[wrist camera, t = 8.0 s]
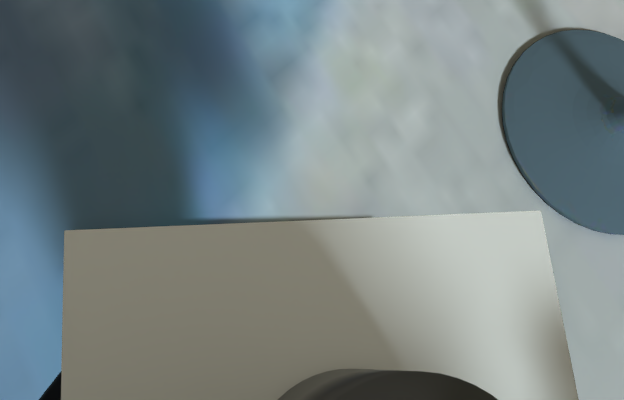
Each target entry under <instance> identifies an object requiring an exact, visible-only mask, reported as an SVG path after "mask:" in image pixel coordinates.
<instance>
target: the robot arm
mask: <svg viewBox="0 0 624 400" xmlns="http://www.w3.org/2000/svg"><path fill="white" fill-rule="evenodd" d="M61 372H62V371H61ZM61 372H60V373H59V375H58V376H57V377H56V378H55V380H54V381H53V382H52V384H51V385H50V386H49V387H48V389H47V390H46V391H45V392H44V394H43V395H42V396H41V398H40V399H39V400H61Z"/></svg>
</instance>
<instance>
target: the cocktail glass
mask: <svg viewBox="0 0 624 400" xmlns="http://www.w3.org/2000/svg"><path fill="white" fill-rule="evenodd" d="M502 115H503V126H504V130H505V135H506V139H507V143H508V145H509V148H510V151H511V153H512V156H513V158H514V160H515V162H516V164H517V166H518V167H519V169H520V171H521V173H522V175H523V176H524V177H525V179H526V180H527V181H528V183H529V184H530V185H531V187H532V188H533V189H534V191H535V192H536V193H537V194H538V195H539V196H540V197H541V198H542V199H543V200H544V201H545V202H546V203H547V204H548V205H549V206H551V207H552V208H553V209H555V210H556V211H557V212H559V213H560V214H561V215H562V216H564V217H566V218H568V219H569V220H571V221H573V222H575V223H577V224H578V225H581V226H584V227H586V228H589V229H591V230H594V231H598V232H603V233H608V234H622V235H624V41H622V40H621V39H619V38H616V37H613V36H610V35H607V34H605V33H600V32H595V31H590V30H568V31H560V32H557V33H554V34H551V35H548V36H546V37H544V38H542V39H540V40H538V41H537V42H535V43H533V44H532V45H531V46H530V47H529V48H528V49H527V50H525V51H524V52H523V53H522V55H521V56H520V57H519V59H518V60H517V61H516V63H515V64H514V65H513V67H512V69H511V71H510V74H509V76H508V78H507V81H506V85H505V89H504V92H503V103H502Z"/></svg>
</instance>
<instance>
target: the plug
mask: <svg viewBox="0 0 624 400" xmlns="http://www.w3.org/2000/svg"><path fill="white" fill-rule="evenodd" d="M61 400H578V395H577V390H576V385H575V380H574V375H573V370H572V365H571V360H570V354H569V349H568V344H567V339H566V334H565V329H564V324H563V319H562V314H561V309H560V304H559V299H558V294H557V289H556V284H555V279H554V274H553V269H552V264H551V259H550V254H549V249H548V244H547V239H546V234H545V229H544V224H543V219H542V214H541V211H520V212H496V213H472V214H448V215H424V216H400V217H376V218H352V219H328V220H305V221H281V222H257V223H233V224H209V225H185V226H161V227H137V228H113V229H89V230H65V231H64V275H63V324H62V372H61Z"/></svg>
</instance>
